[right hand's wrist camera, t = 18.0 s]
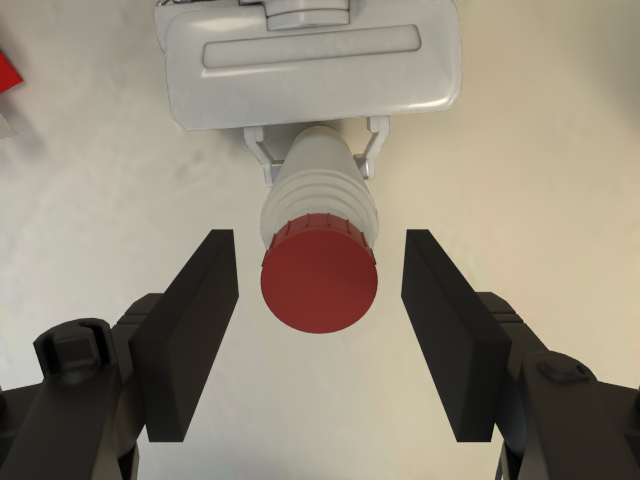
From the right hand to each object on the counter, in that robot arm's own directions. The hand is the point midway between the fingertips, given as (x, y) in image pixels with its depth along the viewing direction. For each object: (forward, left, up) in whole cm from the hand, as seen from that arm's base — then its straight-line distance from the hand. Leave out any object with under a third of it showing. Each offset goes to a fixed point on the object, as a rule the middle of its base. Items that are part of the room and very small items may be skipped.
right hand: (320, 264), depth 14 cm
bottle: (0, 0, -24) cm, 24 cm away
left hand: (-1, +1, -17) cm, 17 cm away
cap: (0, 0, +1) cm, 1 cm away
